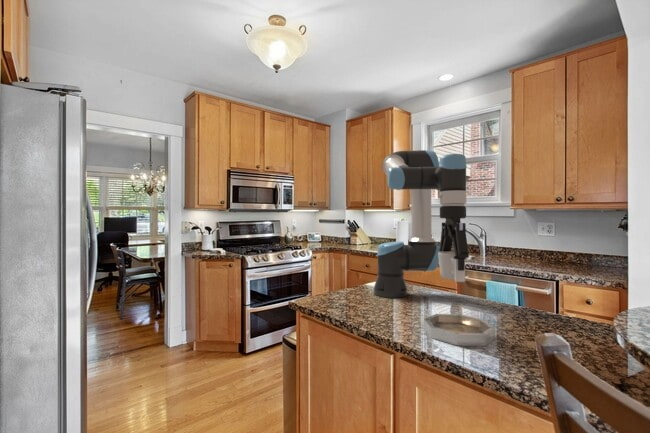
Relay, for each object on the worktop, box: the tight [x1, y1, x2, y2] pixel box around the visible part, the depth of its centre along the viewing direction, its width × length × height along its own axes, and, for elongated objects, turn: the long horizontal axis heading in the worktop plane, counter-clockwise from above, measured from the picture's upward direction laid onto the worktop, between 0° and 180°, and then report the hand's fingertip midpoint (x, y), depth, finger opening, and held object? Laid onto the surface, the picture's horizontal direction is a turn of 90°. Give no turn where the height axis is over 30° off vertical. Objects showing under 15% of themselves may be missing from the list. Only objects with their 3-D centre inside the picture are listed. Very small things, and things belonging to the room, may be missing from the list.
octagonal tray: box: [423, 313, 496, 347], centre depth 97 cm, size 18×18×3 cm
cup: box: [438, 251, 456, 281], centre depth 98 cm, size 11×8×8 cm
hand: (452, 278), depth 98 cm, fingers closed on cup, 11 cm apart
